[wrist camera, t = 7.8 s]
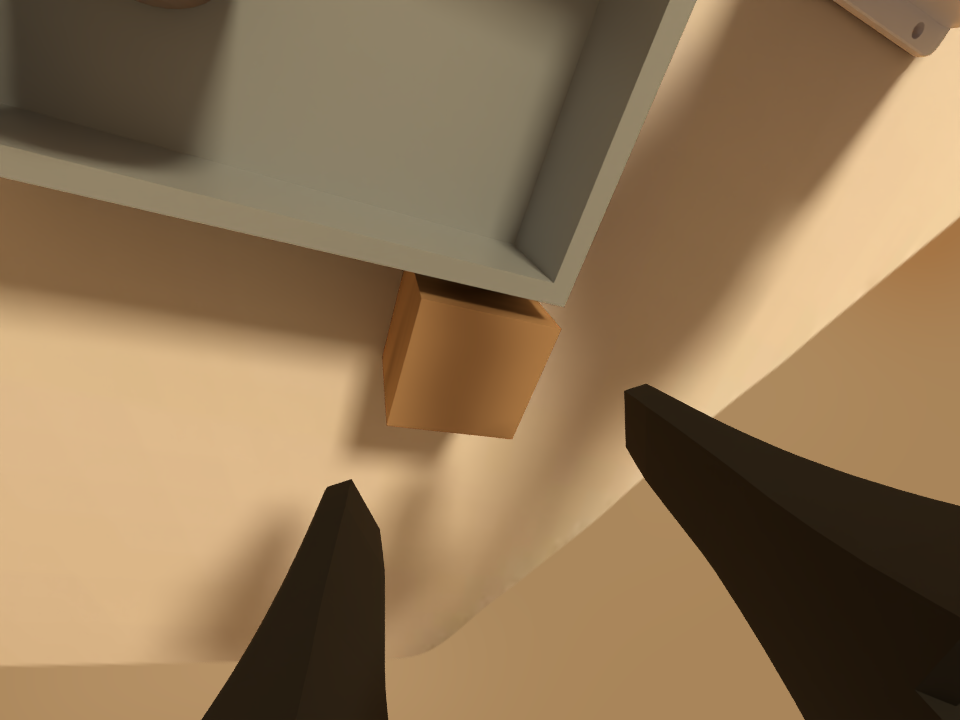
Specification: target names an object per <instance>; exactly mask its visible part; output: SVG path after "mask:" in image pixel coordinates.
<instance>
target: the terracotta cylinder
mask: <svg viewBox="0 0 960 720" xmlns="http://www.w3.org/2000/svg"><path fill="white" fill-rule="evenodd" d="M135 1H137V2H140V3H143V4H147V5H150V6H153V7H159V8H165V9H185V8H193V7H196V6H199V5H202V4H205V3H207V2H209V1H211V0H135Z"/></svg>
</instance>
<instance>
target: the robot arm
mask: <svg viewBox="0 0 960 720" xmlns="http://www.w3.org/2000/svg"><path fill="white" fill-rule="evenodd" d="M833 1H834V2H836V3H837V4H839V5H840V6H842V7H843V8H845V9H846V10H847V11H849V12H850V13H852V14H853V15H855V16H856V17H858V18H859V19H861V20H862V21H863V22H865V23H866V24H868V25H869V26H871V27H872V28H874V29H875V30H876V31H878V32H879V33H881V34H882V35H884V36H885V37H887V38H888V39H889V40H891V41H892V42H894V43H895V44H897V45H898V46H900V47H901V48H902V49H904V50H905V51H907V52H908V53H910V54H911V55H913V56H914V57H925V56H928V55H930V54H932V53H933V52H934V51H935V50H936V49H937V48H938V46H939V45H940V43H941V42H942V40H943V39H944V37H945V36H946V34H947V33H948V31H949V30H950V28H958V27H960V0H833ZM912 31H913V32H912ZM624 399H625V434H626V448H627V450H628V451H629V453H630V455H631V456H632V458H633V460H634V462H635V463H636V465H637V467H638V468H639V470H640V472H641V473H642V475H643V477H644V478H645V480H646V481H647V482H648V484H649V485H650V486H651V488H652V489H653V490H654V492H655V493H656V494H657V496H658V497H659V498H660V499H661V501H662V502H663V503H664V505H665V506H666V507H667V509H668V510H669V511H670V512H671V514H672V515H673V516H674V517H675V519H676V520H677V521H678V523H679V524H680V525H681V527H682V528H683V529H684V530H685V532H686V533H687V534H688V536H689V537H690V538H691V539H692V541H693V542H694V543H695V545H696V546H697V547H698V548H699V550H700V551H701V552H702V554H703V555H704V556H705V558H706V559H707V561H708V562H709V563H710V565H711V566H712V567H713V569H714V570H715V572H716V573H717V575H718V576H719V578H720V579H721V581H722V583H723V584H724V586H725V587H726V589H727V590H728V592H729V594H730V595H731V597H732V598H733V600H734V601H735V603H736V604H737V606H738V608H739V609H740V610H741V612H742V614H743V615H744V617H745V619H746V621H747V622H748V624H749V625H750V627H751V629H752V630H753V632H754V633H755V635H756V637H757V638H758V640H759V642H760V643H761V645H762V647H763V648H764V650H765V651H766V653H767V655H768V657H769V658H770V660H771V662H772V663H773V665H774V667H775V669H776V670H777V672H778V673H779V675H780V677H781V679H782V680H783V682H784V684H785V685H786V687H787V689H788V691H789V692H790V694H791V696H792V698H793V699H794V701H795V703H796V705H797V706H798V708H799V710H800V712H801V713H802V715H803V717H804V719H805V720H960V506H958V505H954V504H950V503H946V502H942V501H938V500H934V499H930V498H927V497H923V496H919V495H916V494H912V493H909V492H905V491H902V490H898V489H895V488H892V487H889V486H885V485H882V484H879V483H876V482H872V481H869V480H866V479H863V478H859V477H856V476H853V475H850V474H847V473H844V472H841V471H838V470H835V469H833V468H830V467H827V466H824V465H822V464H819V463H816V462H813V461H810V460H808V459H805V458H803V457H800V456H797V455H795V454H792V453H790V452H787V451H784V450H782V449H780V448H778V447H775V446H773V445H771V444H768V443H766V442H764V441H761V440H759V439H757V438H754V437H752V436H750V435H748V434H745V433H743V432H741V431H739V430H737V429H734V428H733V427H730V426H728V425H726V424H724V423H722V422H720V421H718V420H716V419H714V418H712V417H710V416H708V415H706V414H704V413H702V412H700V411H698V410H696V409H694V408H692V407H690V406H688V405H686V404H684V403H683V402H681V401H679V400H677V399H675V398H673V397H671V396H669V395H667V394H665V393H663V392H662V391H660V390H658V389H656V388H654V387H652V386H650V385H648V384H644V385H641V386H638V387H635V388H631V389H628V390H625V391H624ZM202 720H388V713H387V702H386V690H385V569H384V560H383V551H382V543H381V535H380V529H379V527H378V525H377V523H376V522H375V520H374V518H373V516H372V515H371V513H370V511H369V509H368V507H367V506H366V504H365V502H364V500H363V499H362V497H361V495H360V493H359V491H358V490H357V488H356V486H355V484H354V483H353V481H352V479H351V480H347V481H344V482H341V483H338V484H335V485H332V486H329V487H327V488H326V490H325V492H324V494H323V496H322V499H321V501H320V503H319V506H318V508H317V510H316V512H315V515H314V517H313V519H312V522H311V524H310V526H309V528H308V531H307V533H306V535H305V537H304V540H303V542H302V544H301V546H300V548H299V550H298V552H297V554H296V557H295V559H294V561H293V563H292V565H291V567H290V569H289V571H288V573H287V575H286V577H285V579H284V581H283V583H282V585H281V587H280V589H279V591H278V593H277V595H276V597H275V599H274V601H273V602H272V604H271V606H270V608H269V610H268V612H267V614H266V616H265V618H264V620H263V621H262V623H261V625H260V627H259V628H258V630H257V632H256V634H255V636H254V637H253V639H252V641H251V642H250V644H249V646H248V648H247V649H246V651H245V653H244V654H243V656H242V658H241V659H240V661H239V662H238V664H237V666H236V667H235V669H234V671H233V672H232V674H231V676H230V677H229V679H228V681H227V682H226V683H225V685H224V687H223V688H222V690H221V691H220V693H219V694H218V696H217V697H216V699H215V700H214V702H213V703H212V705H211V706H210V708H209V709H208V711H207V712H206V714H205V715H204V717H203V718H202Z"/></svg>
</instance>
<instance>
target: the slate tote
mask: <svg viewBox="0 0 960 720" xmlns="http://www.w3.org/2000/svg"><path fill="white" fill-rule="evenodd" d="M696 1H697V0H211V1H209V2H207V3H205V4H202V5H199V6H196V7H193V8H185V9H165V8H159V7H153V6H150V5H147V4H143V3H140V2H137V1H135V0H0V177H2V178H6V179H11V180H15V181H19V182H24V183H28V184H32V185H37V186H41V187H45V188H50V189H54V190H58V191H63V192H67V193H71V194H76V195H80V196H84V197H89V198H93V199H97V200H102V201H106V202H110V203H115V204H119V205H123V206H128V207H132V208H136V209H141V210H145V211H149V212H154V213H158V214H162V215H167V216H171V217H175V218H180V219H184V220H188V221H193V222H197V223H201V224H206V225H210V226H214V227H219V228H223V229H227V230H232V231H236V232H240V233H245V234H249V235H253V236H258V237H262V238H266V239H271V240H275V241H279V242H284V243H288V244H292V245H297V246H301V247H305V248H310V249H314V250H318V251H323V252H327V253H331V254H336V255H340V256H344V257H349V258H353V259H357V260H362V261H366V262H370V263H375V264H379V265H383V266H388V267H392V268H396V269H401V270H405V271H409V272H414V273H418V274H422V275H427V276H431V277H435V278H440V279H444V280H448V281H453V282H457V283H461V284H466V285H470V286H474V287H479V288H483V289H487V290H492V291H496V292H500V293H505V294H509V295H513V296H518V297H522V298H526V299H531V300H535V301H539V302H543V303H548V304H552V305H556V306H561V307H565V304H566V302H567V300H568V297H569V295H570V293H571V290H572V288H573V286H574V284H575V281H576V279H577V277H578V274H579V272H580V270H581V267H582V265H583V263H584V260H585V258H586V256H587V253H588V251H589V249H590V246H591V244H592V242H593V239H594V237H595V235H596V233H597V230H598V228H599V226H600V223H601V221H602V219H603V216H604V214H605V212H606V209H607V207H608V205H609V202H610V200H611V198H612V195H613V193H614V191H615V189H616V186H617V184H618V182H619V179H620V177H621V175H622V172H623V170H624V168H625V165H626V163H627V161H628V158H629V156H630V154H631V151H632V149H633V147H634V144H635V142H636V140H637V138H638V135H639V133H640V131H641V128H642V126H643V124H644V121H645V119H646V117H647V114H648V112H649V110H650V107H651V105H652V103H653V100H654V98H655V96H656V93H657V91H658V89H659V87H660V84H661V82H662V80H663V77H664V75H665V73H666V70H667V68H668V66H669V63H670V61H671V59H672V56H673V54H674V52H675V49H676V47H677V45H678V42H679V40H680V38H681V36H682V33H683V31H684V29H685V26H686V24H687V22H688V19H689V17H690V15H691V12H692V10H693V8H694V5H695V3H696Z"/></svg>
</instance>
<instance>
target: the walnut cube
mask: <svg viewBox="0 0 960 720" xmlns="http://www.w3.org/2000/svg"><path fill="white" fill-rule="evenodd" d="M560 331H561V328H560V327H559V326H558V325H557V323H556V322H555V321H554V320H553V319H552V317H551V316H550V315H549V314H548V313H547V312H546V310H545V309H544V308H543V307H542V306H541V305H540V303H539V302H538V301H535V300H531V299H526V298H522V297H518V296H513V295H509V294H505V293H500V292H496V291H492V290H487V289H483V288H479V287H474V286H470V285H466V284H461V283H457V282H453V281H448V280H444V279H440V278H435V277H431V276H427V275H422V274H418V273H414V272H409V271H405V270H404V271H403V275H402V279H401V283H400V287H399V291H398V295H397V299H396V303H395V307H394V312H393V316H392V320H391V324H390V328H389V332H388V336H387V340H386V344H385V348H384V352H383V356H382V360H383V376H384V392H385V408H386V424H387V426H395V427H404V428H414V429H423V430H432V431H441V432H450V433H459V434H469V435H478V436H487V437H496V438H505V439H512V438H513V436H514V434H515V432H516V429H517V427H518V425H519V423H520V420H521V418H522V416H523V414H524V412H525V409H526V407H527V405H528V403H529V400H530V398H531V396H532V394H533V391H534V389H535V387H536V385H537V382H538V380H539V378H540V376H541V374H542V371H543V369H544V367H545V365H546V362H547V360H548V358H549V356H550V353H551V351H552V349H553V347H554V344H555V342H556V340H557V338H558V336H559V333H560Z"/></svg>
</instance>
